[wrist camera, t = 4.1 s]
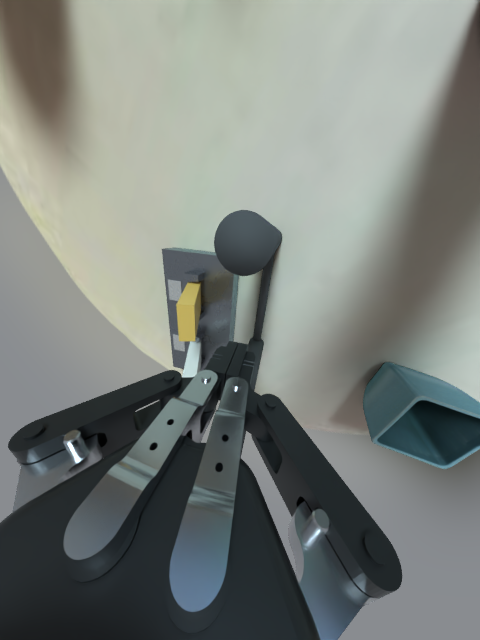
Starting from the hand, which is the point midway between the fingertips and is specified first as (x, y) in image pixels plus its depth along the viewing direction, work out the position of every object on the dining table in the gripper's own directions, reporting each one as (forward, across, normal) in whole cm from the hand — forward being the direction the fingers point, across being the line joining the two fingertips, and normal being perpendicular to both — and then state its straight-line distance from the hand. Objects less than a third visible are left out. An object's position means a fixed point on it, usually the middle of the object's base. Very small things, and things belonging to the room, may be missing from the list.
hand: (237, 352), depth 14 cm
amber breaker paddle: (+10, +8, 0) cm, 13 cm away
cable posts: (+14, -1, 0) cm, 14 cm away
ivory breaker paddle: (+11, +8, +9) cm, 16 cm away
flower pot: (+14, -22, +9) cm, 28 cm away
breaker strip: (+15, +8, +5) cm, 17 cm away
